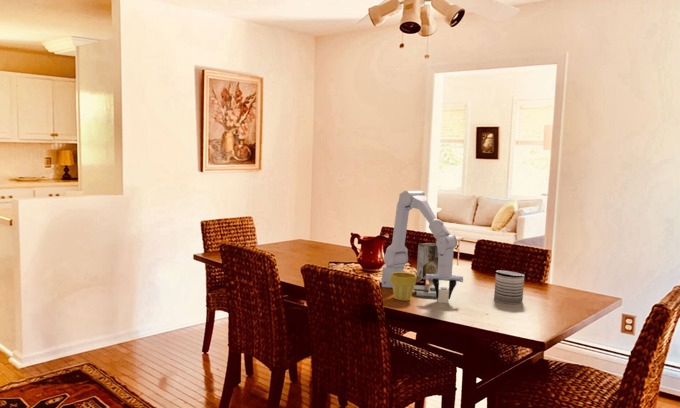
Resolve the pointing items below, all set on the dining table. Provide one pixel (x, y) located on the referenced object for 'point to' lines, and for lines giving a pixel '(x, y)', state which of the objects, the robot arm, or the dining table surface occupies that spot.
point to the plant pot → (403, 285)
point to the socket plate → (427, 293)
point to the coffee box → (427, 259)
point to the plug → (443, 295)
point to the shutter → (422, 287)
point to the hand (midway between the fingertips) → (443, 298)
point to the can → (509, 287)
